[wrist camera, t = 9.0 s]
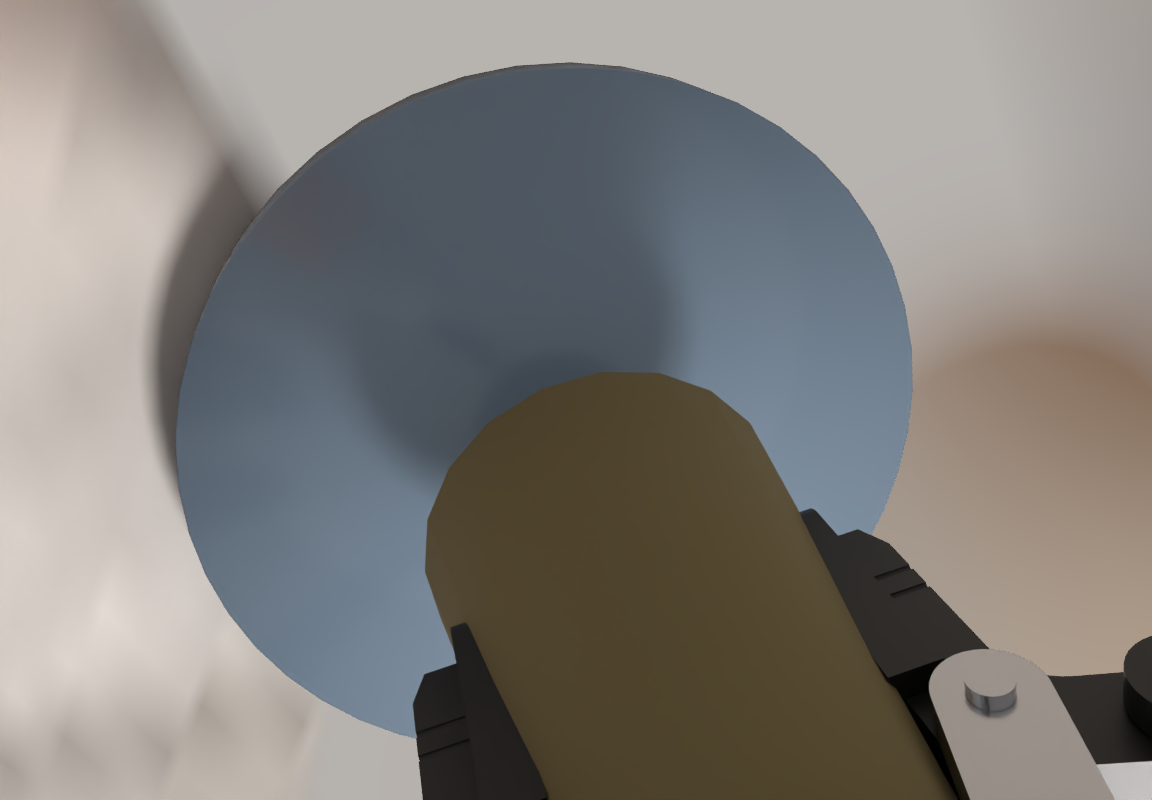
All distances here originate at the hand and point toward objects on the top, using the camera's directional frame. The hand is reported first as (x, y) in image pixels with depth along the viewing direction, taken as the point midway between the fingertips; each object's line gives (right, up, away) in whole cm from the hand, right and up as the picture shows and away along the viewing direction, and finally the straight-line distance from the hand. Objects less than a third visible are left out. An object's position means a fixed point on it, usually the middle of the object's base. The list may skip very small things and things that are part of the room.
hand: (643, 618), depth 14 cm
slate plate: (-1, +2, +5) cm, 6 cm away
